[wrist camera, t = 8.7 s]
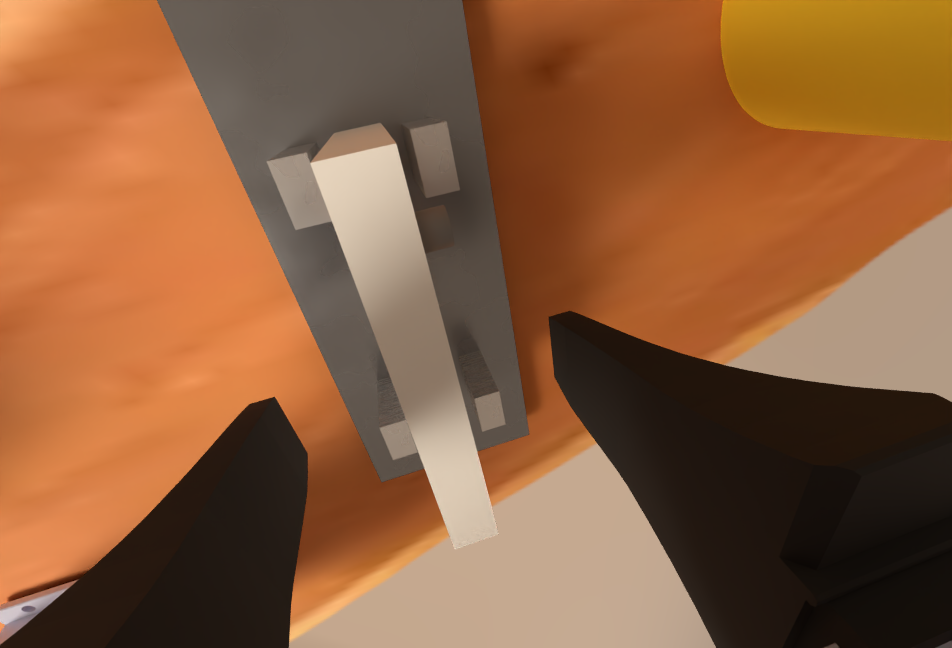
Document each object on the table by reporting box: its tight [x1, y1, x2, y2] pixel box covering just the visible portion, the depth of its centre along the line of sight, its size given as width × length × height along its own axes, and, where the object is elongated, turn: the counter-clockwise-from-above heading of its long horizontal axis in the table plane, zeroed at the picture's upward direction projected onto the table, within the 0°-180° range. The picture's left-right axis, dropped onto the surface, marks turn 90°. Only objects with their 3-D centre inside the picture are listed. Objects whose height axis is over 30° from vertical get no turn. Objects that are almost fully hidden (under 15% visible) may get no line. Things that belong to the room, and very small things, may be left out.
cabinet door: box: [310, 123, 499, 549], centre depth 13 cm, size 2×12×7 cm, turn 10°
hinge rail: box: [157, 0, 529, 482], centre depth 15 cm, size 8×20×4 cm, turn 10°
